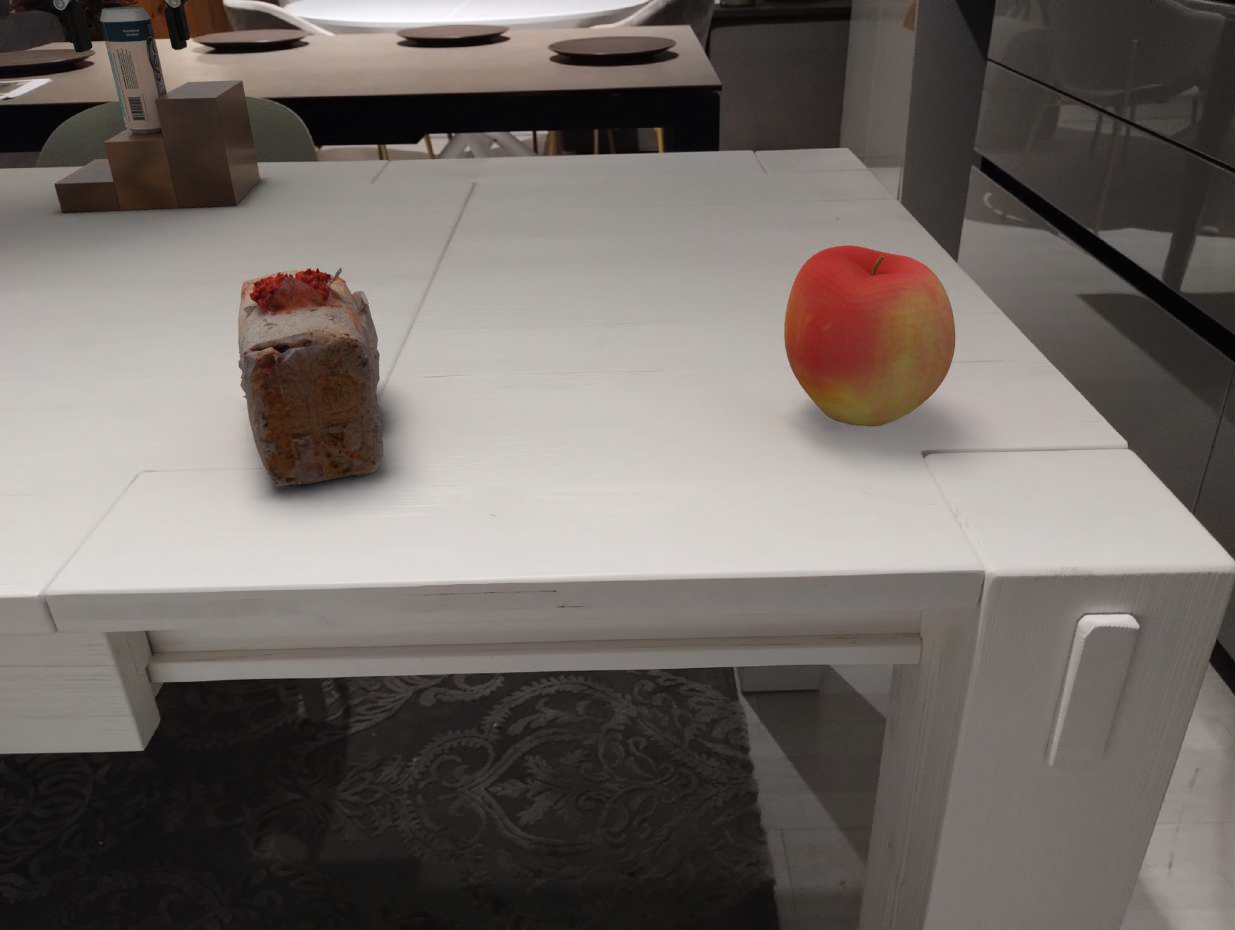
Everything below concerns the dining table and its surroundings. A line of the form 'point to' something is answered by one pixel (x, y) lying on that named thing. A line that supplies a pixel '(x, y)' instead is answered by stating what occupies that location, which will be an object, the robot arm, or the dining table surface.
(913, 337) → the apple
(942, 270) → the dining table surface
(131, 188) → the step shelf
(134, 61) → the beer can
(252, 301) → the food item
